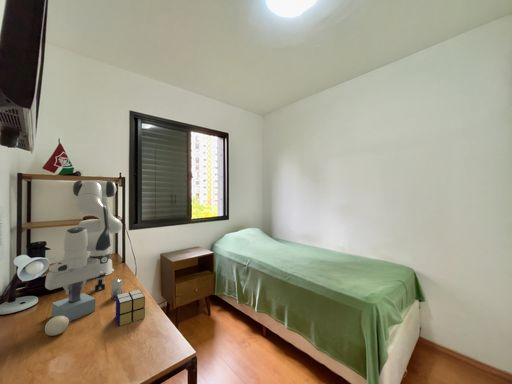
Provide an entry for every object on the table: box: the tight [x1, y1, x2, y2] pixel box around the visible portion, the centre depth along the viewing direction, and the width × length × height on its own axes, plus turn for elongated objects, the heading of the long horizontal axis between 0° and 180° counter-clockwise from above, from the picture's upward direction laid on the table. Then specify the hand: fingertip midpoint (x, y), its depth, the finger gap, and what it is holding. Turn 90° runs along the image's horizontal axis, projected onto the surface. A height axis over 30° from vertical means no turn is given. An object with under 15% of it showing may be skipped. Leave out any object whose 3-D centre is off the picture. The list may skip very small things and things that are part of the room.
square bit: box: [68, 282, 82, 303], centre depth 100 cm, size 3×3×9 cm
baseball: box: [44, 316, 70, 337], centre depth 86 cm, size 7×7×7 cm
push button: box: [91, 271, 106, 291], centre depth 126 cm, size 7×5×10 cm
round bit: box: [110, 278, 123, 300], centre depth 117 cm, size 5×5×9 cm
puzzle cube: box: [115, 288, 146, 327], centre depth 97 cm, size 10×10×10 cm
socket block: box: [51, 292, 96, 322], centre depth 100 cm, size 12×12×6 cm
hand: (74, 292), depth 100 cm, fingers closed on square bit, 3 cm apart
